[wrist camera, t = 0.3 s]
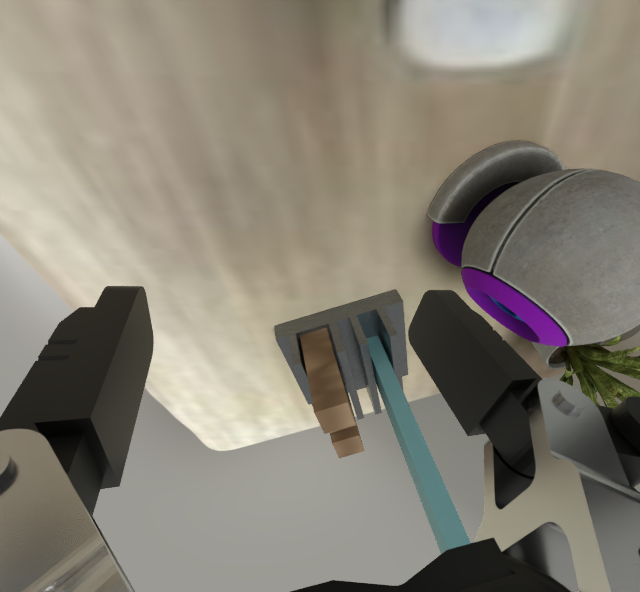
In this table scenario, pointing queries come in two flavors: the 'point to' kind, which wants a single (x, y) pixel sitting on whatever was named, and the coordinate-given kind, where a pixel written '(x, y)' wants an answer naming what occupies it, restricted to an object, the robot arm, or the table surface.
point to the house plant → (594, 368)
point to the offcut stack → (330, 393)
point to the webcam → (543, 243)
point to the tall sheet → (417, 454)
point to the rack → (351, 343)
